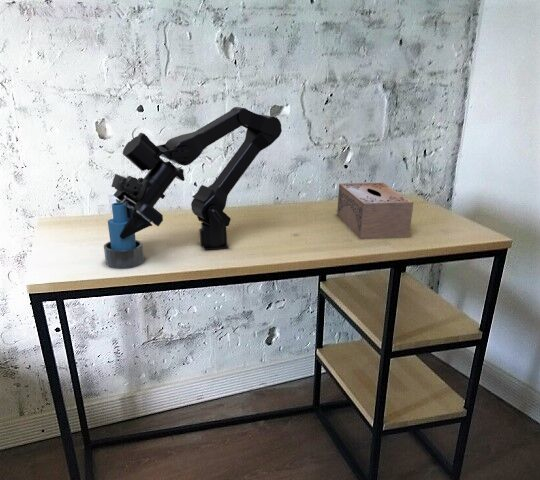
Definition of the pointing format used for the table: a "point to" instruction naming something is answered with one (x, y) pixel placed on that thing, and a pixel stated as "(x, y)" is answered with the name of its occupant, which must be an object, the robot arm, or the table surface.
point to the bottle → (120, 228)
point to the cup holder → (124, 256)
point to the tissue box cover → (374, 210)
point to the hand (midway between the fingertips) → (116, 234)
